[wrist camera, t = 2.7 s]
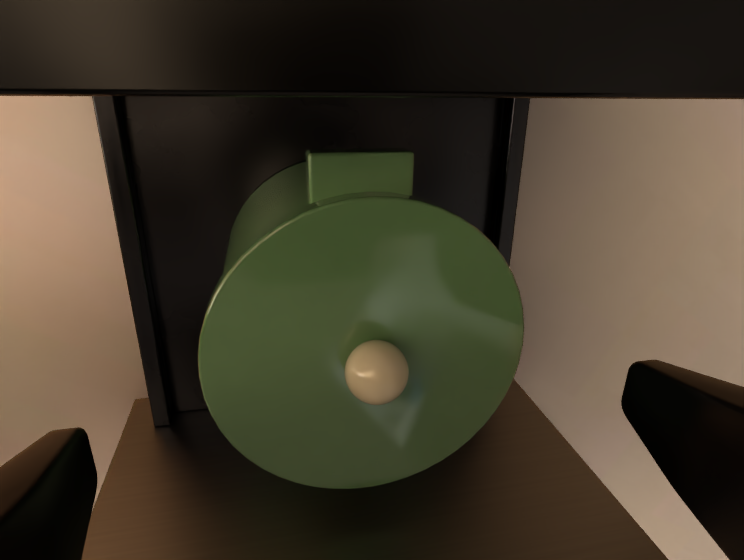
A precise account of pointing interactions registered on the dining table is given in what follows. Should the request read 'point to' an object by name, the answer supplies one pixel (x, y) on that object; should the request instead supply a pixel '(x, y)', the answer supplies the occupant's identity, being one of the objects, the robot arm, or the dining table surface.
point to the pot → (356, 325)
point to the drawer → (185, 318)
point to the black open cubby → (374, 48)
